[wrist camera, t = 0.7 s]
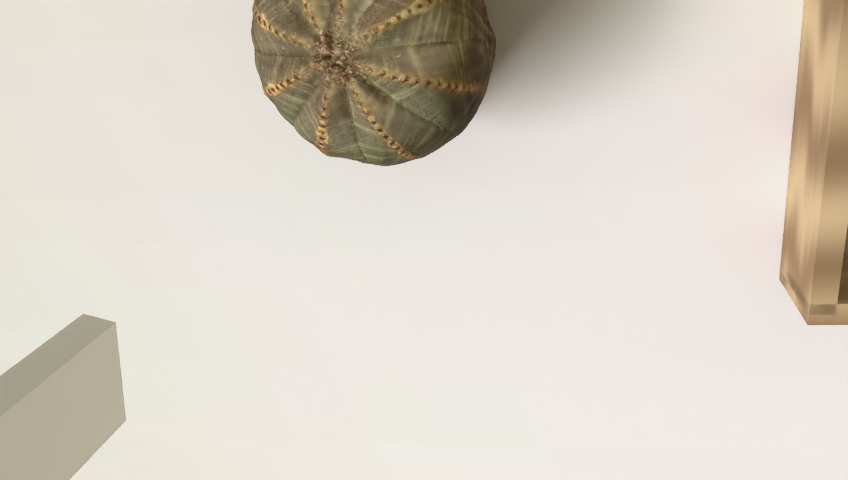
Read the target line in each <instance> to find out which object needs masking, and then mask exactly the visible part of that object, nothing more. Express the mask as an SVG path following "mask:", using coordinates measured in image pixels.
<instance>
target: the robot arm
mask: <svg viewBox="0 0 848 480" xmlns="http://www.w3.org/2000/svg"><path fill="white" fill-rule="evenodd" d="M125 421H126V416H125V407H124V397H123V388H122V378H121V369H120V359H119V350H118V340H117V331H116V322H112V321H108V320H104V319H101V318H97V317H93V316H89V315H85V314H83V315H81V316H80V317H79V318H77V319H76V320H75V321H73V322H72V323H71V324H69V325H68V326H67V327H65V328H64V329H63V330H61V331H60V332H59V333H57V334H56V335H55V336H53V337H52V338H51V339H49V340H48V341H47V342H45V343H44V344H43V345H41V346H40V347H39V348H37V349H36V350H35V351H33V352H32V353H30V354H29V355H28V356H26V357H25V358H24V359H22V360H21V361H20V362H18V363H17V364H16V365H14V366H13V367H12V368H10V369H9V370H8V371H6V372H5V373H4V374H2V375H1V376H0V480H70V479H71V477H72V476H73V475H74V474H75V473H76V472H77V471H78V470H79V469H80V468H81V467H82V466H83V465H84V464H85V463H86V462H87V461H88V460H89V459H90V457H91V456H92V455H93V454H94V453H95V452H96V451H97V450H98V449H99V448H100V447H101V446H102V445H103V444H104V443H105V442H106V441H107V440H108V439H109V437H110V436H111V435H112V434H113V433H114V432H115V431H116V430H117V429H118V428H119V427H120V426H121V425H122V424H123V423H124V422H125Z"/></svg>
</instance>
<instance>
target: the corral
mask: <svg viewBox="0 0 848 480" xmlns="http://www.w3.org/2000/svg"><path fill="white" fill-rule="evenodd" d="M847 226H848V0H804V11H803V22H802V33H801V44H800V55H799V67H798V78H797V89H796V100H795V111H794V123H793V134H792V145H791V156H790V167H789V178H788V190H787V201H786V212H785V223H784V234H783V245H782V257H781V268H780V281H781V283H782V284H783V286H784V287H785V289H786V291H787V292H788V294H789V295H790V297H791V299H792V300H793V302H794V304H795V305H796V307H797V308H798V310H799V312H800V313H801V315H802V317H803V318H804V320H805V321H806V323H807V325H848V259H843V256H844V248H845V241H846V233H847Z"/></svg>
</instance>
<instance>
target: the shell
mask: <svg viewBox="0 0 848 480" xmlns="http://www.w3.org/2000/svg"><path fill="white" fill-rule="evenodd" d="M252 9H253V21H252V29H251V35H252V41H253V45H254V48H255V64H256V68H257V71H258V73H259V76H260V79H261V82H262V86H263V91H264V94H265V95H266V96H267V97H268V98H269V99H270V100H271V101H272V102H273V103H274V104H275V106H276V107H277V109H278V111H279V112H280V114H281V115H282V116H283V117H284V118H285V119H286V120H287V121H288V122H289V123H290V124H292V125H293V126H294V128H295V129H296V131H297V132H298V133H299V134H300V135H301V136H302V137H303V138H304V139H305V140H307V141H309V142H310V143H312V144H313V145H314V146H316V147H317V148H318V149H319V150H320V151H321V152H322V153H323V154H325V155H327V156H331V157H342V158H347V159H351V160H356V161H359V162H362V163H368V164H374V165H380V166H390V165H396V164H401V163H404V162H408V161H411V160H414V159H418V158H423V157H425V156H427V155H428V154H430V153H432V152H434V151H436V150H437V149H439V148H440V147H442V146H443V145H445V144H446V143H448V142H449V141H451V140H452V139H453V138H455V137H456V136H458V135H459V134H460V133H462V132H463V130H464V129H465V128H466V127H467V125H468V124H469V123H470V121H471V120H472V118H473V117H474V115H475V114H476V112H477V110H478V107H479V106H480V104H481V102H482V100H483V98H484V96H485V93H486V90H487V86H488V82H489V78H490V74H491V70H492V66H493V61H494V57H495V48H496V40H495V36H494V33H493V30H492V28H491V25H490V22H489V20H488V18H487V12H486V7H485V5H484V1H483V0H254V4H253V8H252Z"/></svg>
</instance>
